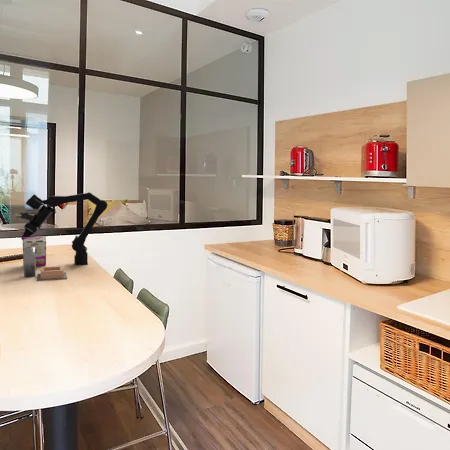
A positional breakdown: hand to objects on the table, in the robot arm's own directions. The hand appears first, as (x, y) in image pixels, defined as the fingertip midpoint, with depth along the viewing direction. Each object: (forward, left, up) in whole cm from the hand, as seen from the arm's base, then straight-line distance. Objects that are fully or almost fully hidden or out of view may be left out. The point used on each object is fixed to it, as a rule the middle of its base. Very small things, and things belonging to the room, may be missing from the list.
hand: (23, 238), depth 213 cm
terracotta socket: (-14, +30, -15) cm, 36 cm away
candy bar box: (-5, +2, -14) cm, 15 cm away
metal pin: (-4, +26, -15) cm, 30 cm away
